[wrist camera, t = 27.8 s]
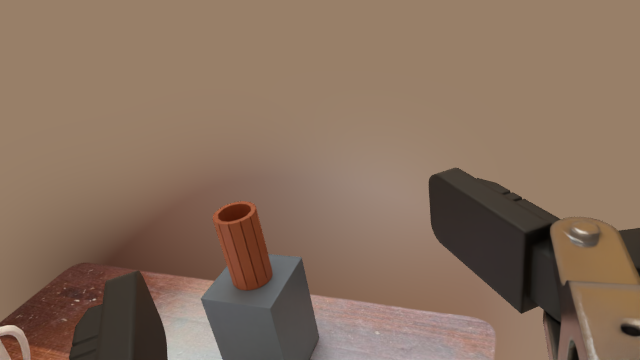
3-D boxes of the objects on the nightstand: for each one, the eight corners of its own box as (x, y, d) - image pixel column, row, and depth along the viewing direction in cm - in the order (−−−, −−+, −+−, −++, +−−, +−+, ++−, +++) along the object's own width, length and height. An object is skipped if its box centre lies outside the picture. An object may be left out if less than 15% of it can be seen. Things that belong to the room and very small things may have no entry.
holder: (319, 337, 54) (287, 193, 46) (293, 393, 48) (250, 238, 39) (261, 327, 57) (221, 190, 49) (229, 379, 51) (176, 232, 42)
